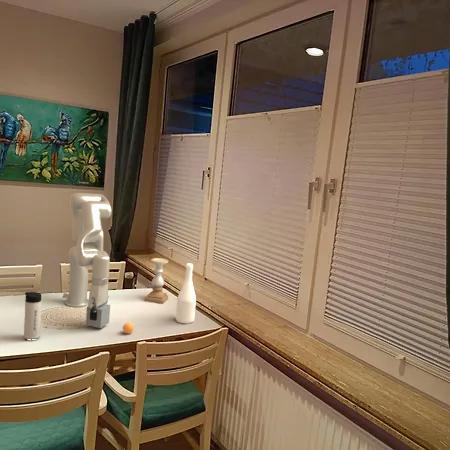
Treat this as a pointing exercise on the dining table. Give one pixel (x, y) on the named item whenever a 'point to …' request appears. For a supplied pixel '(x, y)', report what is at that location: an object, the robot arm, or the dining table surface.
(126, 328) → the ball
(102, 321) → the matte gray cube
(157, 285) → the candle holder
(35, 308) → the travel mug
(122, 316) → the dining table surface
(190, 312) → the wine bottle
